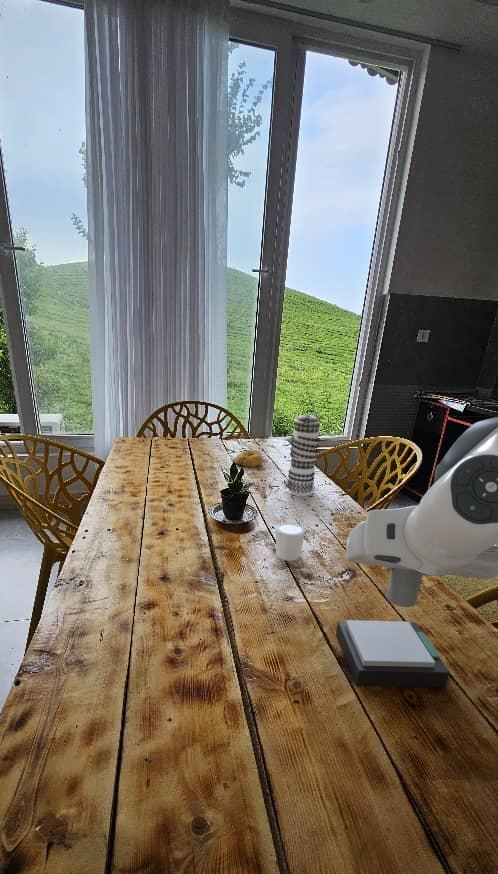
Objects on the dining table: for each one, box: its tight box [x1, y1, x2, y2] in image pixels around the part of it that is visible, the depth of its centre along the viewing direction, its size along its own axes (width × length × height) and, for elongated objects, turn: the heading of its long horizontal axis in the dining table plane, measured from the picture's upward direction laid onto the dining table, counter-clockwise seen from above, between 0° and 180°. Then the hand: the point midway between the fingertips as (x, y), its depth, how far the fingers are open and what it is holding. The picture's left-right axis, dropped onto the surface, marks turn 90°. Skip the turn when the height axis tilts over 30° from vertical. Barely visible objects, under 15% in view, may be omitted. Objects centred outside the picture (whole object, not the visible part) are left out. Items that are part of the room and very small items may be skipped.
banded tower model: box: [286, 414, 322, 497], centre depth 143 cm, size 9×9×25 cm
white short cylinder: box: [275, 522, 306, 562], centre depth 105 cm, size 7×7×7 cm
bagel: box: [233, 449, 263, 468], centre depth 173 cm, size 10×11×5 cm
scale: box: [335, 619, 451, 688], centre depth 73 cm, size 14×12×4 cm
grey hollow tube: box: [385, 568, 424, 608], centre depth 69 cm, size 4×4×10 cm
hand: (406, 568), depth 70 cm, fingers closed on grey hollow tube, 4 cm apart
